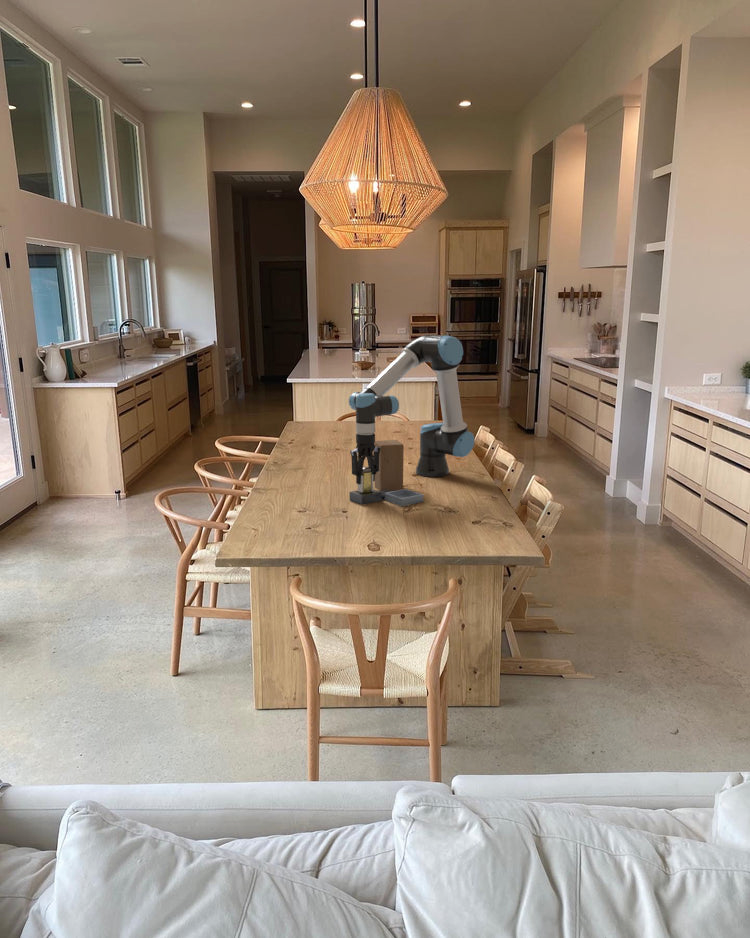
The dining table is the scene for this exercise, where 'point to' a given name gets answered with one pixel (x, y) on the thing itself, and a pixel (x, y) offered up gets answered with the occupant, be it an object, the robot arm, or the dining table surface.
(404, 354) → the robot arm
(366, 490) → the pin
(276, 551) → the dining table surface
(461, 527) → the dining table surface
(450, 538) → the dining table surface
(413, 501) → the tray
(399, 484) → the wooden block
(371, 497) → the bar
